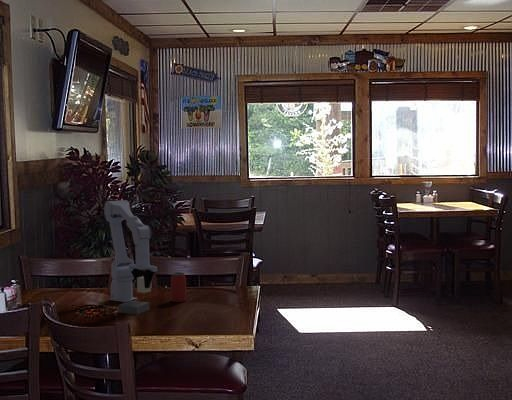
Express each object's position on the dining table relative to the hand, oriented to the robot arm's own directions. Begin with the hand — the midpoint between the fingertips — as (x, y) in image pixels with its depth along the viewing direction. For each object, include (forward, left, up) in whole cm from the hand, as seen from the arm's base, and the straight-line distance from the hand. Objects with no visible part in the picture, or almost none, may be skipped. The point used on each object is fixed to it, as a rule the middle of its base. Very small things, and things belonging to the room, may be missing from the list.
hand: (143, 287), depth 284 cm
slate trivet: (+1, -7, -9) cm, 11 cm away
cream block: (0, 0, -2) cm, 2 cm away
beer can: (+4, +17, -9) cm, 20 cm away
